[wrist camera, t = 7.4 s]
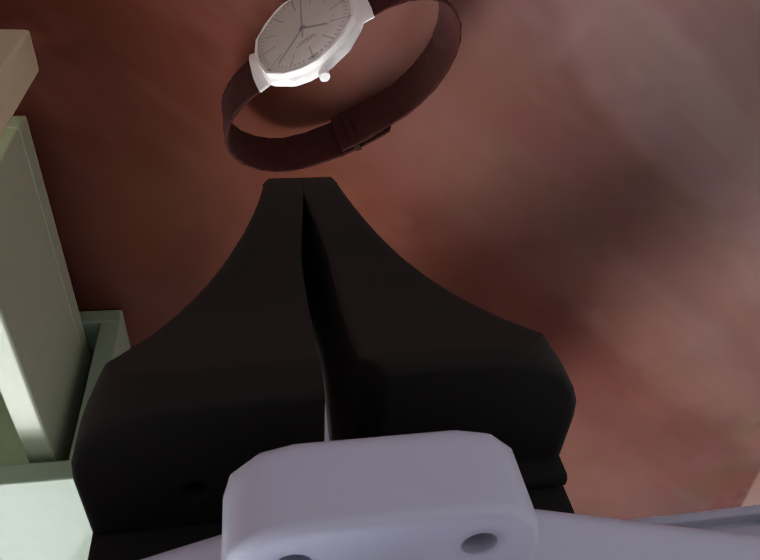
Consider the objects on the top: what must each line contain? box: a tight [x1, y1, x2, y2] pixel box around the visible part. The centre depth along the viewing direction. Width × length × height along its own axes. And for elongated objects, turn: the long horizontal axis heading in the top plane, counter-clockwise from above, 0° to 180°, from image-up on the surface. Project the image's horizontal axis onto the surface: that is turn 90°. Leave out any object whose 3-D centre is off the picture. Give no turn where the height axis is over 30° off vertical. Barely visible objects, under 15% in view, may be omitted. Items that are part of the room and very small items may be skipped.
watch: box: [222, 0, 461, 172], centre depth 20 cm, size 8×5×4 cm, turn 120°
